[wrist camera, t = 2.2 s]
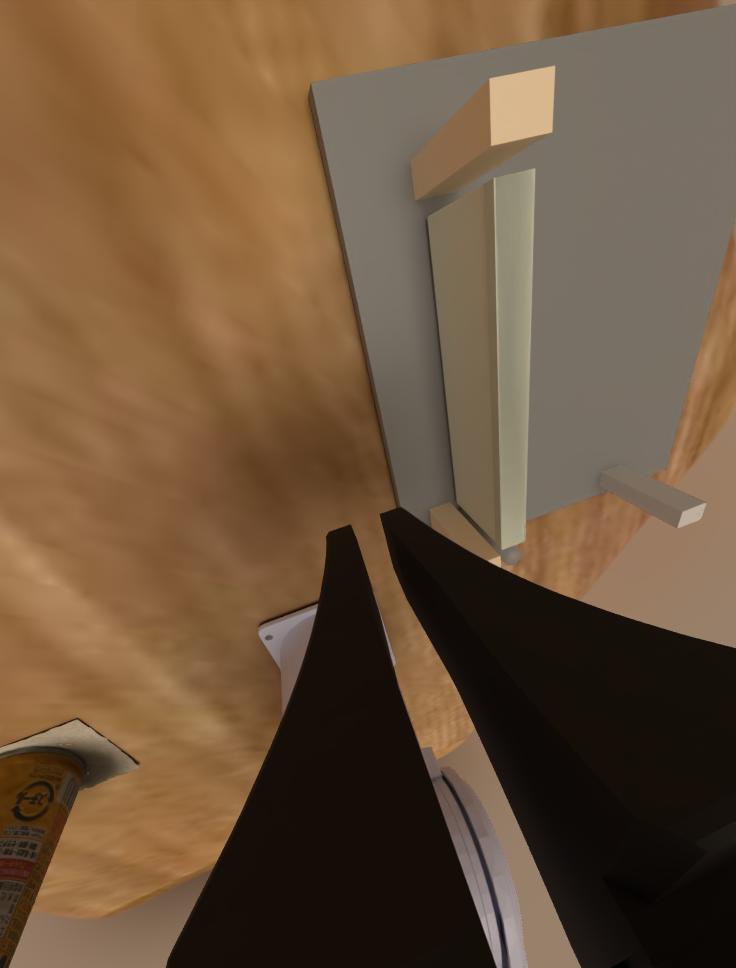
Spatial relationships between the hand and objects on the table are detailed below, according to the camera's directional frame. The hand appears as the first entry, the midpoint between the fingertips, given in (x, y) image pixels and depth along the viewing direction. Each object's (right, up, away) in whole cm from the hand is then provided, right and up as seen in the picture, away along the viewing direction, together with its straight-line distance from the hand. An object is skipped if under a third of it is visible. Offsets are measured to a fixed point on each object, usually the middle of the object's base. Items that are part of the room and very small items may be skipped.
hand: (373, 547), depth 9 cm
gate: (+4, +6, +8) cm, 11 cm away
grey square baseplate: (+10, +9, +9) cm, 16 cm away
